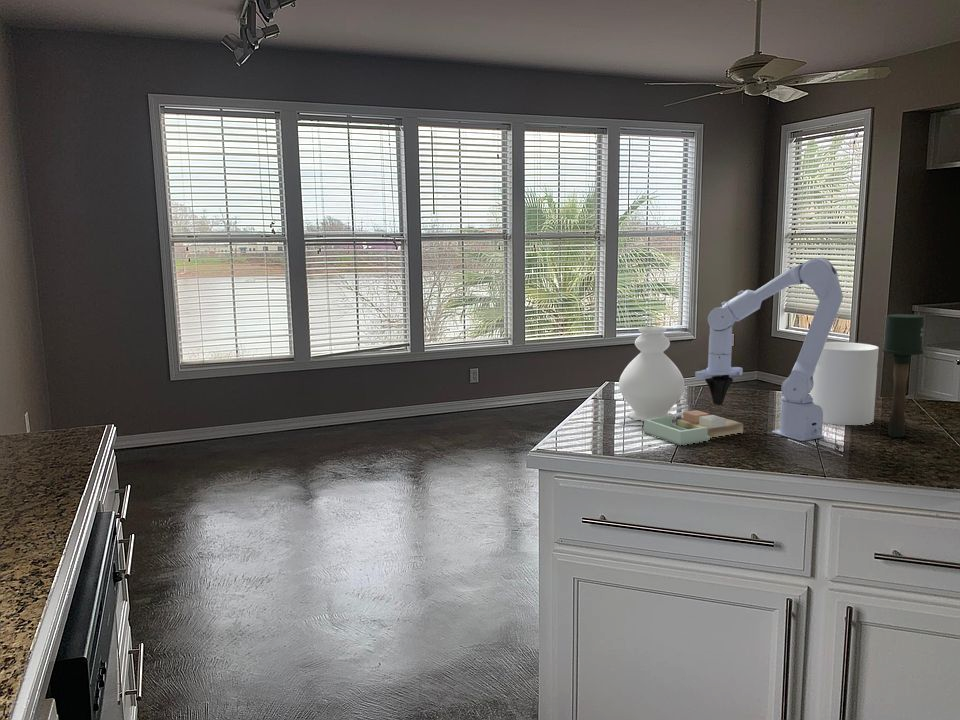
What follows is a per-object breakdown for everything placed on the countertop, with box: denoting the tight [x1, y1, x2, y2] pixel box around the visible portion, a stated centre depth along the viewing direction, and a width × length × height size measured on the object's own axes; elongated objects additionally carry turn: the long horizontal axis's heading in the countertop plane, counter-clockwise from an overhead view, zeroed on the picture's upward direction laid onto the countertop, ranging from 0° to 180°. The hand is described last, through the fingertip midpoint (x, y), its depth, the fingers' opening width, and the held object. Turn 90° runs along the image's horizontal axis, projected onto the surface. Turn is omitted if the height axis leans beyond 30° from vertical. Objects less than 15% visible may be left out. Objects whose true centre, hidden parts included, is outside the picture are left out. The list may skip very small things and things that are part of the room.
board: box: [676, 418, 744, 439], centre depth 189 cm, size 11×12×2 cm
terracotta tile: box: [682, 409, 710, 423], centre depth 191 cm, size 4×4×2 cm
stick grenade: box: [881, 313, 925, 439], centre depth 179 cm, size 8×9×30 cm
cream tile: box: [699, 414, 727, 428], centre depth 185 cm, size 4×4×2 cm
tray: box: [643, 416, 711, 447], centre depth 184 cm, size 14×9×4 cm, turn 26°
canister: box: [809, 341, 880, 426], centre depth 198 cm, size 16×16×20 cm
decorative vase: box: [618, 326, 685, 422], centre depth 204 cm, size 18×18×25 cm
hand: (717, 404), depth 193 cm, fingers closed
